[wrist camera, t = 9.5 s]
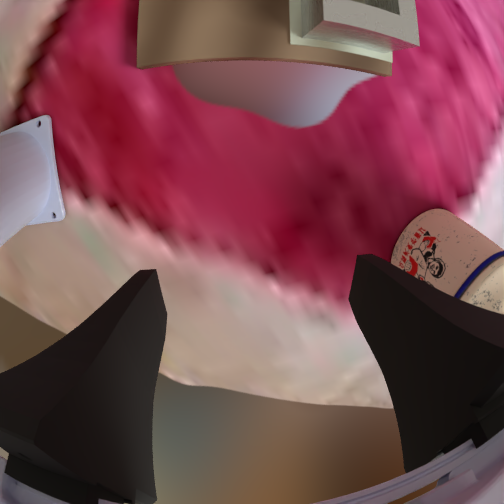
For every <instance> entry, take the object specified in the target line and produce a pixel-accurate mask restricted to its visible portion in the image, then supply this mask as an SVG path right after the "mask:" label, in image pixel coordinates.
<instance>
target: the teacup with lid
mask: <svg viewBox="0 0 504 504" xmlns="http://www.w3.org/2000/svg"><path fill="white" fill-rule="evenodd" d="M391 264H393V265H395V266H397V267H398V268H400V269H402V270H404V271H406V272H407V273H409V274H411V275H413V276H414V277H416V278H418V279H420V280H422V281H423V282H425V283H427V284H429V285H431V286H433V287H435V288H437V289H439V290H441V291H443V292H445V293H447V294H449V295H451V296H453V297H456V298H458V299H460V300H462V301H465V302H467V303H470V304H472V305H475V306H478V307H481V308H484V309H487V310H490V311H493V312H497V313H500V314H504V250H503V249H502V248H500V247H499V246H498V245H497V244H495V243H494V242H493V241H491V240H490V239H489V238H487V237H486V236H484V235H483V234H482V233H480V232H479V231H477V230H476V229H475V228H473V227H472V226H470V225H469V224H467V223H466V222H464V221H463V220H461V219H460V218H458V217H457V216H455V215H454V214H452V213H451V212H449V211H447V210H444V209H432V210H428V211H426V212H424V213H422V214H420V215H419V216H417V217H416V218H415V219H414V220H412V221H411V222H410V223H409V224H408V226H407V227H406V228H405V229H404V231H403V232H402V233H401V235H400V237H399V239H398V240H397V243H396V245H395V247H394V250H393V254H392V258H391Z"/></svg>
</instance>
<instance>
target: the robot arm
mask: <svg viewBox="0 0 504 504" xmlns="http://www.w3.org/2000/svg"><path fill="white" fill-rule="evenodd" d="M40 121H41V126H39V122H40ZM53 212H54V213H55V214H56V217H55V216H54V214H53ZM65 215H66V214H65V209H64V204H63V199H62V195H61V189H60V184H59V179H58V173H57V166H56V160H55V152H54V144H53V135H52V123H51V117H50V116H49V115H43V116H40V117H38V118H35V119H32V120H30V121H27V122H25V123H22V124H20V125H17V126H15V127H13V128H10V129H8V130H6V131H3V132H1V133H0V247H1V246H2V245H3V244H4V243H5V242H6V241H8V240H9V239H10V238H11V237H12V236H13V235H15V234H16V233H17V232H18V231H19V230H21V229H22V228H23V227H24V226H26V225H33V224H40V223H47V222H55V221H61V220H62V219H64V217H65ZM349 302H350V305H351V308H352V311H353V313H354V316H355V319H356V321H357V323H358V325H359V327H360V329H361V331H362V333H363V335H364V337H365V339H366V341H367V343H368V344H369V346H370V348H371V350H372V352H373V354H374V356H375V358H376V360H377V362H378V364H379V366H380V368H381V370H382V373H383V375H384V378H385V381H386V384H387V387H388V390H389V393H390V396H391V399H392V403H393V406H394V410H395V413H396V418H397V422H398V427H399V432H400V437H401V444H402V451H403V460H404V469H405V471H406V474H404V475H402V476H399V477H397V478H394V479H392V480H389V481H387V482H384V483H382V484H379V485H376V486H373V487H370V488H367V489H364V490H361V491H358V492H355V493H352V494H348V495H345V496H341V497H338V498H334V499H330V500H326V501H321V502H317V503H312V504H386V503H389V502H392V501H394V500H396V499H398V498H401V497H403V496H405V495H408V494H410V493H412V492H414V491H416V490H418V489H420V488H422V487H424V486H426V485H428V484H430V483H432V482H434V481H436V480H437V479H439V478H440V479H439V481H438V482H437V486H436V487H435V489H433V490H431V491H429V492H427V493H425V494H423V495H421V496H419V497H417V498H415V499H413V500H411V501H409V502H407V503H405V504H504V314H500V313H497V312H493V311H490V310H487V309H484V308H481V307H478V306H475V305H472V304H470V303H467V302H465V301H462V300H460V299H458V298H456V297H453V296H451V295H449V294H447V293H445V292H443V291H441V290H439V289H437V288H435V287H433V286H431V285H429V284H427V283H425V282H423V281H422V280H420V279H418V278H416V277H414V276H413V275H411V274H409V273H407V272H406V271H404V270H402V269H400V268H398V267H397V266H395V265H393V264H391V263H389V262H388V261H386V260H384V259H382V258H380V257H377V256H375V255H373V254H366V255H357V259H356V265H355V270H354V275H353V280H352V285H351V290H350V295H349ZM166 324H167V311H166V308H165V304H164V300H163V296H162V292H161V288H160V284H159V280H158V275H157V271H156V269H151V270H140V271H138V272H137V273H136V274H135V275H134V276H132V277H131V278H130V279H129V280H128V281H127V282H126V283H125V284H124V285H123V286H122V287H121V288H120V289H119V290H118V291H117V292H116V293H114V294H113V295H112V296H111V297H110V298H109V299H108V300H107V301H106V302H105V303H104V304H103V305H102V306H101V307H99V308H98V309H97V310H96V311H95V312H94V313H93V314H92V315H91V316H89V317H88V318H87V319H86V320H85V321H84V322H83V323H81V324H80V325H79V326H78V327H76V328H75V329H74V330H72V331H71V332H70V333H68V334H67V335H66V336H65V337H63V338H62V339H61V340H59V341H57V342H56V343H54V344H53V345H51V346H50V347H48V348H47V349H45V350H44V351H42V352H41V353H39V354H38V355H36V356H34V357H32V358H31V359H29V360H27V361H25V362H23V363H21V364H19V365H18V366H16V367H13V368H11V369H9V370H7V371H5V372H2V373H0V447H1V448H3V449H4V450H5V451H7V452H8V453H9V456H8V460H6V459H5V458H3V457H1V456H0V504H124V503H128V504H153V503H154V502H155V501H156V500H157V496H156V489H155V481H154V470H153V454H152V453H153V452H152V418H153V417H152V416H153V400H154V392H155V386H156V381H157V376H158V371H159V366H160V361H161V356H162V351H163V347H164V342H165V335H166Z"/></svg>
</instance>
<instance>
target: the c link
mask: <svg viewBox="0 0 504 504" xmlns="http://www.w3.org/2000/svg"><path fill="white" fill-rule="evenodd" d="M301 24H302V38H306V39H314V40H321V41H328V42H334V43H339V44H345V45H350V46H355V47H359V48H364V49H368V50H372V51H376V52H380V53H383V54H384V53H388V52H393V51H397V50H402V49H407V48H413V47H418V46H419V33H418V23H417V14H416V6H415V0H365V4H363V3H359V2H355V1H351V0H301Z"/></svg>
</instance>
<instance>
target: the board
mask: <svg viewBox="0 0 504 504" xmlns="http://www.w3.org/2000/svg"><path fill="white" fill-rule="evenodd" d="M351 1H355V2H359V3H363V4H365V0H351ZM228 60H264V61H286V62H298V63H309V64H317V65H325V66H332V67H339V68H345V69H351V70H356V71H361V72H366V73H371V74H375V75H380V76H384V77H386V76H392V63H393V61H392V52H388V53H384V54H383V53H380V52H376V51H372V50H368V49H364V48H359V47H355V46H350V45H345V44H339V43H334V42H328V41H321V40H314V39H306V38H302V24H301V0H140V1H139V15H138V33H137V68H139V69H147V68H153V67H160V66H167V65H174V64H183V63H194V62H207V61H228Z"/></svg>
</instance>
